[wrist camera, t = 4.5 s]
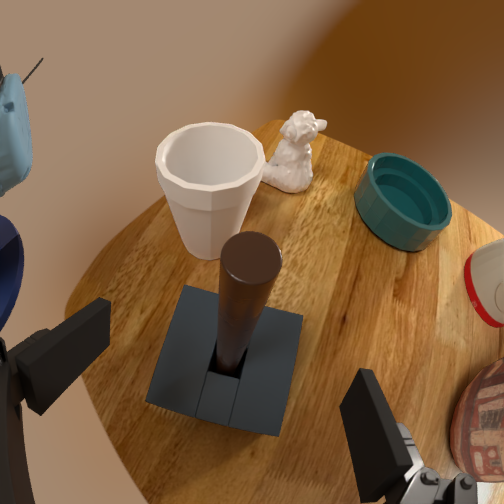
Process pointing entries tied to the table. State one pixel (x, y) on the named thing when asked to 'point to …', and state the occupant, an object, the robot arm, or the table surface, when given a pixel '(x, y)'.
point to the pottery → (481, 426)
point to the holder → (221, 386)
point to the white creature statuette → (293, 154)
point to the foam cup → (209, 182)
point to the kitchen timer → (487, 282)
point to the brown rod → (243, 293)
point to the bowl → (402, 202)
